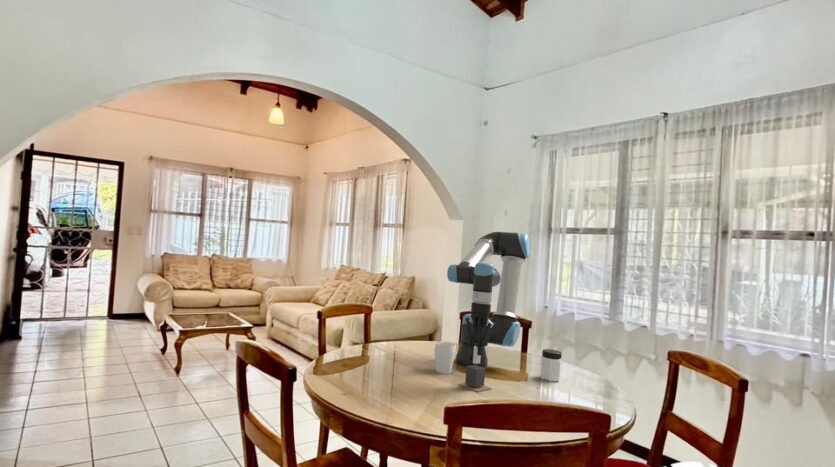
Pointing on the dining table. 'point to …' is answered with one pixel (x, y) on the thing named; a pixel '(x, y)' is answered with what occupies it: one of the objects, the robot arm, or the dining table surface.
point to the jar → (550, 365)
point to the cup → (444, 356)
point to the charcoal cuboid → (475, 376)
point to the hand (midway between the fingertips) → (476, 363)
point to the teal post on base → (477, 389)
